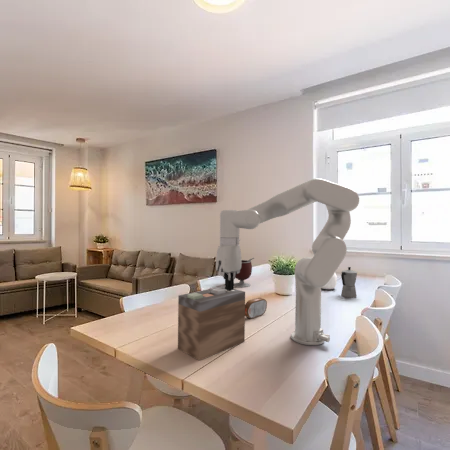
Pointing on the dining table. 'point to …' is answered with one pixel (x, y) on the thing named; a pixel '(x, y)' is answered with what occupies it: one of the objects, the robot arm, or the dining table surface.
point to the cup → (331, 283)
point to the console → (210, 322)
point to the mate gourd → (244, 273)
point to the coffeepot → (348, 283)
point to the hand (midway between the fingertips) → (229, 289)
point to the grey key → (218, 291)
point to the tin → (255, 307)
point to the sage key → (194, 296)
